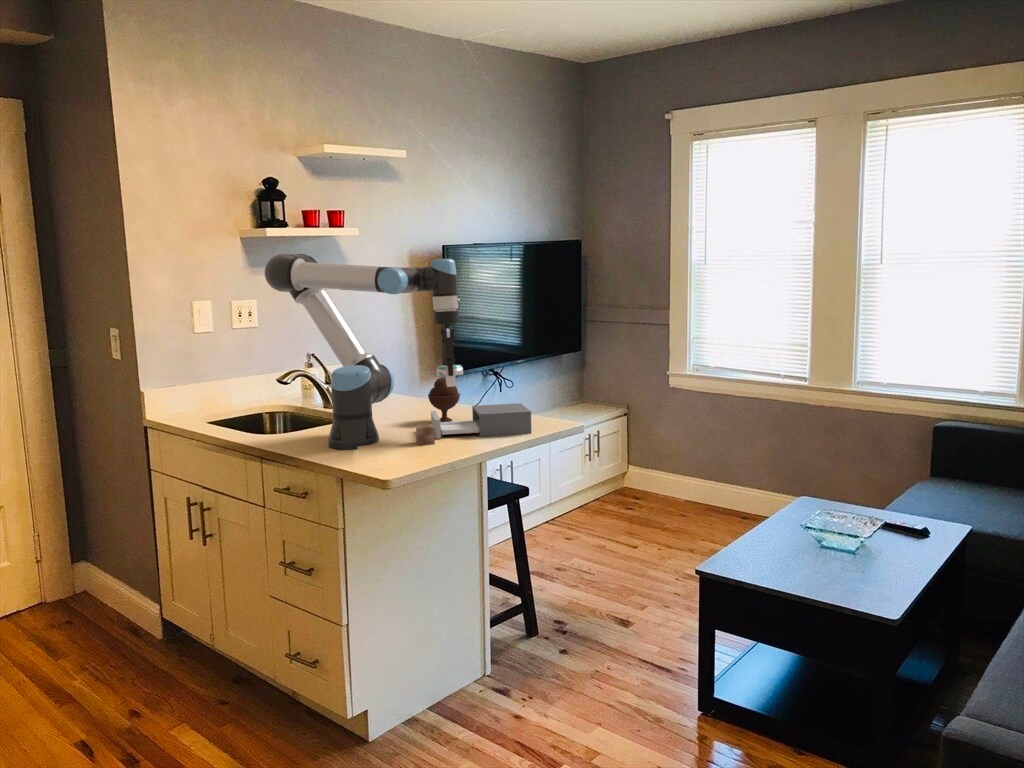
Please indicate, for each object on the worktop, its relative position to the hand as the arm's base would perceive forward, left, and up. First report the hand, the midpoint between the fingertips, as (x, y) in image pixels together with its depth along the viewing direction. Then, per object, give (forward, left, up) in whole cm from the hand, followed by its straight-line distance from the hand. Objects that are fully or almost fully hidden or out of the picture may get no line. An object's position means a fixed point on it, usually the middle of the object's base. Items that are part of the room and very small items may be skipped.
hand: (450, 384), depth 254 cm
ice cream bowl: (0, +25, -16) cm, 29 cm away
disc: (0, 0, +3) cm, 3 cm away
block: (-9, -8, -16) cm, 20 cm away
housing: (+16, +4, -16) cm, 23 cm away
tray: (+4, +4, -16) cm, 17 cm away
